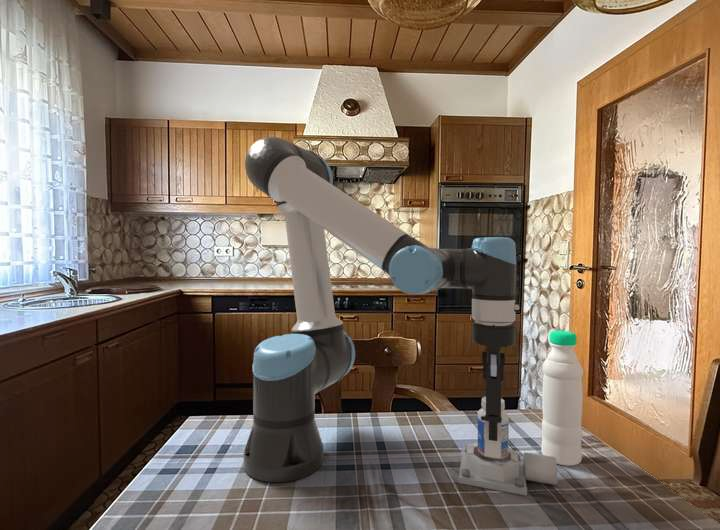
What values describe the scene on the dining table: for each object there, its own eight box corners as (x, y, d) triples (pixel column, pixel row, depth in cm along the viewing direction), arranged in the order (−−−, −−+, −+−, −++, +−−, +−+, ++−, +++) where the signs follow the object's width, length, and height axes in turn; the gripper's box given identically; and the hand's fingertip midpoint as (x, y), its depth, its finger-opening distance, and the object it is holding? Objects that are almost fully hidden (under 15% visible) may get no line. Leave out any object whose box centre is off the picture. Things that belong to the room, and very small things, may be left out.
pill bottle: (479, 443, 74) (479, 392, 74) (509, 448, 72) (509, 396, 72) (475, 456, 69) (476, 402, 69) (507, 462, 67) (508, 406, 67)
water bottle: (587, 469, 72) (589, 336, 71) (546, 465, 73) (548, 334, 73) (574, 451, 79) (576, 329, 78) (537, 447, 80) (539, 327, 80)
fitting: (458, 483, 67) (459, 458, 67) (462, 453, 78) (463, 431, 78) (560, 502, 62) (561, 475, 62) (550, 467, 73) (550, 444, 72)
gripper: (519, 332, 60) (518, 479, 61) (512, 316, 78) (511, 429, 78) (469, 329, 63) (468, 470, 63) (474, 314, 80) (473, 424, 81)
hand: (492, 447), depth 71 cm, fingers closed on pill bottle, 5 cm apart
